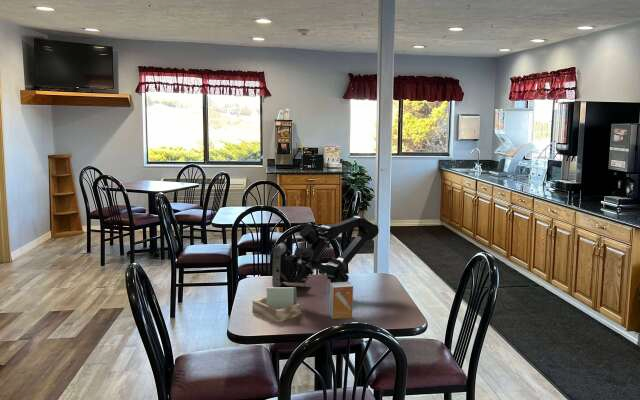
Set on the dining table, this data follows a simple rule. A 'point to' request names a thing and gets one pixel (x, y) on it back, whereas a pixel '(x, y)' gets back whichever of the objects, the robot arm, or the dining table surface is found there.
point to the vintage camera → (283, 267)
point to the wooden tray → (275, 310)
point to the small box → (341, 300)
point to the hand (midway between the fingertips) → (296, 281)
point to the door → (281, 297)
